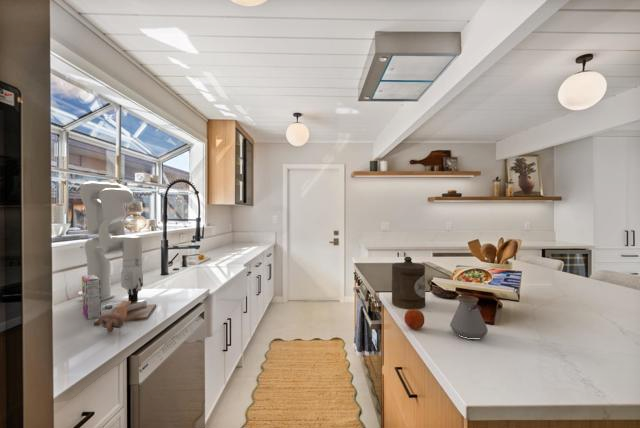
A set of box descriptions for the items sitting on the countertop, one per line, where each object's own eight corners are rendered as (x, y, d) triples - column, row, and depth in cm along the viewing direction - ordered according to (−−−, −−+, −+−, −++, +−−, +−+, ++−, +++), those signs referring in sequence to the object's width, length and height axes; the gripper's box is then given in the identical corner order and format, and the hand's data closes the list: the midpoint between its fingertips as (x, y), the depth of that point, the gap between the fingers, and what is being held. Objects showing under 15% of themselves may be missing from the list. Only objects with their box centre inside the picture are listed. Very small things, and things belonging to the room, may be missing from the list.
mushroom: (95, 335, 103) (94, 312, 103) (112, 328, 109) (111, 307, 109) (110, 338, 101) (109, 315, 101) (126, 331, 107) (126, 309, 107)
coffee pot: (448, 327, 107) (448, 286, 107) (483, 330, 103) (483, 288, 103) (455, 354, 86) (454, 303, 86) (499, 359, 83) (499, 307, 83)
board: (94, 325, 113) (94, 322, 113) (110, 311, 130) (110, 308, 130) (146, 319, 118) (146, 316, 118) (156, 306, 135) (156, 304, 135)
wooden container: (425, 310, 125) (425, 259, 125) (390, 307, 129) (389, 258, 129) (425, 301, 139) (424, 255, 139) (393, 298, 143) (392, 254, 144)
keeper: (116, 319, 116) (115, 307, 116) (122, 312, 124) (122, 301, 124) (124, 318, 117) (124, 306, 117) (131, 311, 125) (130, 300, 125)
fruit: (424, 333, 101) (424, 310, 101) (403, 331, 104) (403, 308, 104) (424, 326, 108) (424, 304, 108) (405, 324, 110) (404, 303, 110)
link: (105, 318, 116) (105, 308, 116) (98, 316, 118) (98, 307, 118) (148, 306, 132) (148, 297, 132) (141, 304, 134) (141, 295, 134)
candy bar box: (81, 314, 126) (81, 276, 127) (96, 311, 130) (95, 274, 130) (86, 320, 119) (85, 280, 119) (101, 316, 123) (101, 278, 123)
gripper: (114, 263, 134) (115, 303, 134) (133, 265, 127) (134, 307, 127) (131, 260, 141) (132, 298, 141) (150, 262, 134) (151, 302, 134)
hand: (133, 302), depth 134 cm, fingers closed
